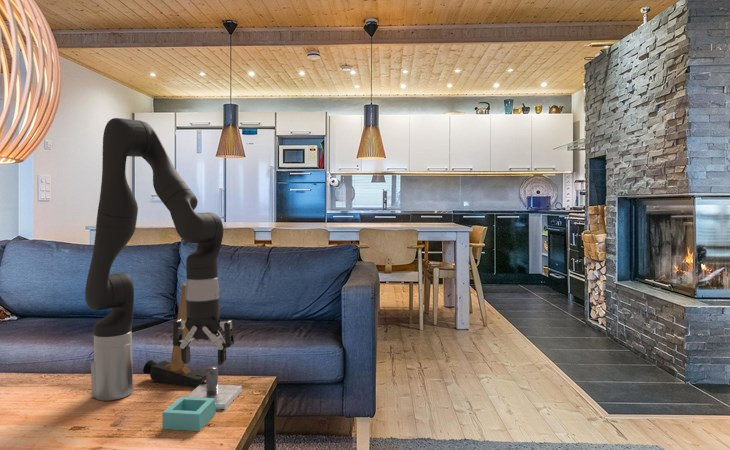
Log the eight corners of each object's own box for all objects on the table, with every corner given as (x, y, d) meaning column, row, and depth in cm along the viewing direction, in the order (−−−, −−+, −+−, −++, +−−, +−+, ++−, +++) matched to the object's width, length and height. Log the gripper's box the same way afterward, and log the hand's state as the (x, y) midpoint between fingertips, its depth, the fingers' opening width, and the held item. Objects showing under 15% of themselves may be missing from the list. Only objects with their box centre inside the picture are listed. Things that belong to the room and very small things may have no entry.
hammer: (211, 389, 142) (227, 290, 139) (201, 395, 137) (217, 294, 134) (153, 370, 146) (167, 275, 143) (141, 376, 142) (155, 277, 139)
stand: (180, 407, 124) (179, 375, 124) (200, 389, 136) (200, 359, 136) (225, 409, 123) (224, 377, 123) (241, 391, 135) (241, 361, 134)
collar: (162, 429, 113) (162, 412, 112) (181, 412, 122) (180, 396, 121) (199, 431, 112) (199, 414, 111) (215, 413, 121) (215, 398, 120)
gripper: (166, 299, 112) (167, 368, 112) (225, 300, 110) (226, 370, 111) (181, 293, 119) (183, 357, 120) (237, 294, 118) (238, 359, 118)
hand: (204, 363), depth 115 cm, fingers open, 8 cm apart
